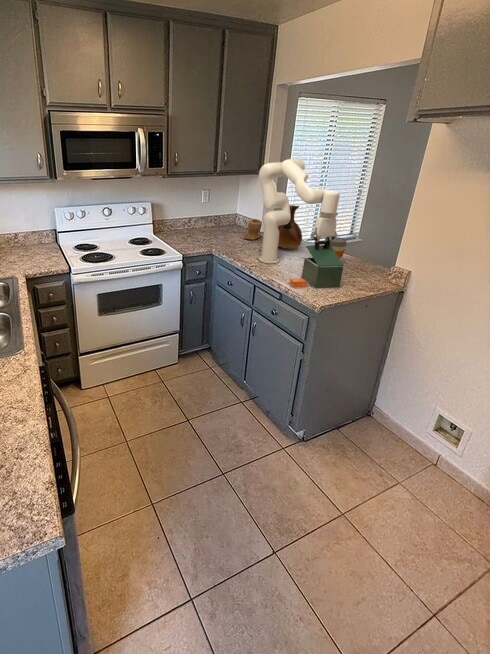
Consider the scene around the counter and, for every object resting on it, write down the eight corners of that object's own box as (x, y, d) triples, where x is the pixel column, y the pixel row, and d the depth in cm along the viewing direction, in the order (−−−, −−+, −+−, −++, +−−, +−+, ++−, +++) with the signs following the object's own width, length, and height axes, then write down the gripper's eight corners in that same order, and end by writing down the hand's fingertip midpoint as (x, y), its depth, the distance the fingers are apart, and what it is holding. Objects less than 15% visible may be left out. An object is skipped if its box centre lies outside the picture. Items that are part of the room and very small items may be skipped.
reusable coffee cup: (345, 266, 217) (349, 242, 212) (323, 265, 219) (327, 241, 214) (339, 259, 229) (343, 237, 223) (318, 258, 231) (322, 236, 225)
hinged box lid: (306, 246, 195) (309, 239, 191) (330, 246, 196) (333, 238, 192) (318, 267, 183) (322, 259, 179) (343, 266, 184) (347, 258, 181)
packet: (293, 287, 189) (294, 282, 187) (289, 283, 193) (290, 278, 192) (306, 286, 189) (306, 281, 188) (302, 283, 193) (302, 278, 192)
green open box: (301, 277, 202) (304, 257, 197) (324, 276, 203) (327, 256, 199) (315, 288, 187) (318, 267, 183) (339, 287, 189) (343, 266, 184)
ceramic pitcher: (302, 245, 259) (308, 203, 248) (299, 253, 242) (305, 209, 231) (274, 241, 266) (279, 201, 255) (269, 249, 249) (274, 206, 238)
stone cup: (255, 242, 266) (257, 222, 260) (241, 239, 273) (243, 219, 268) (264, 237, 276) (267, 218, 271) (251, 235, 284) (252, 216, 278)
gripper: (339, 213, 189) (332, 245, 196) (308, 213, 188) (303, 246, 195) (347, 216, 182) (340, 250, 189) (315, 217, 181) (309, 251, 188)
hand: (321, 248), depth 192 cm, fingers closed on hinged box lid, 5 cm apart
